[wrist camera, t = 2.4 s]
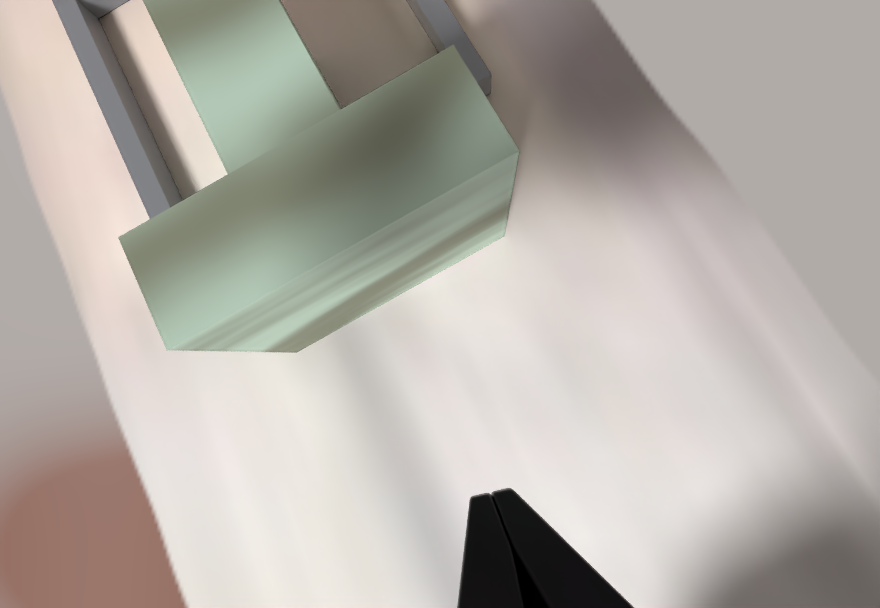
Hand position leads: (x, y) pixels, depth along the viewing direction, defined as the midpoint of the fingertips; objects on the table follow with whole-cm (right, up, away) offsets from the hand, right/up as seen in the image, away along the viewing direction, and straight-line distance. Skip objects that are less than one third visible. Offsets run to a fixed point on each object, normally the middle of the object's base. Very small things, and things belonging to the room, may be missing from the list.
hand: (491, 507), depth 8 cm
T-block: (-6, +11, +14) cm, 19 cm away
